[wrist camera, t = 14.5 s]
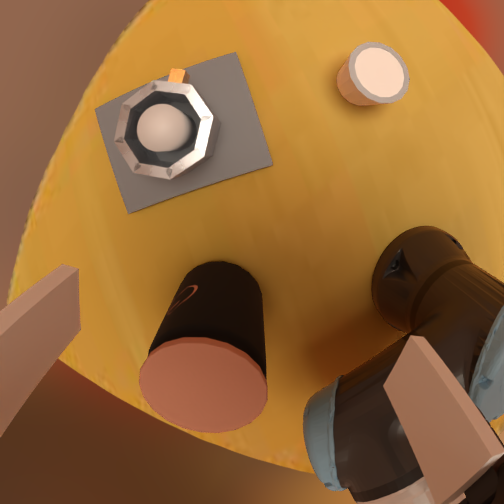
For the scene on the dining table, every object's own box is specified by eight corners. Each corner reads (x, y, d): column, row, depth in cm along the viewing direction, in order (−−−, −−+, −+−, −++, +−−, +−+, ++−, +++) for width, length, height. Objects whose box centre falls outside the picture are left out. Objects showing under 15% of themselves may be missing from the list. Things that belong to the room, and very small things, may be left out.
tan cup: (394, 91, 31) (421, 82, 25) (357, 121, 33) (380, 116, 26) (358, 48, 30) (379, 30, 23) (319, 77, 31) (334, 62, 25)
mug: (153, 78, 30) (132, 63, 23) (229, 88, 31) (224, 74, 24) (134, 164, 33) (109, 168, 27) (208, 178, 34) (198, 185, 27)
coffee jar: (197, 244, 38) (156, 320, 21) (276, 278, 39) (292, 371, 22) (170, 312, 41) (128, 407, 24) (241, 341, 42) (236, 444, 25)
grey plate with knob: (236, 54, 30) (232, 29, 23) (272, 164, 35) (278, 168, 27) (99, 110, 32) (64, 103, 24) (131, 211, 36) (103, 228, 28)
